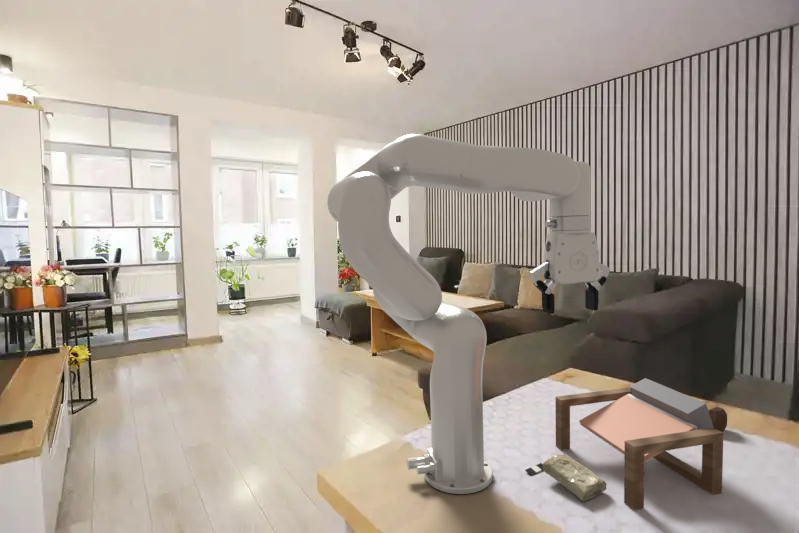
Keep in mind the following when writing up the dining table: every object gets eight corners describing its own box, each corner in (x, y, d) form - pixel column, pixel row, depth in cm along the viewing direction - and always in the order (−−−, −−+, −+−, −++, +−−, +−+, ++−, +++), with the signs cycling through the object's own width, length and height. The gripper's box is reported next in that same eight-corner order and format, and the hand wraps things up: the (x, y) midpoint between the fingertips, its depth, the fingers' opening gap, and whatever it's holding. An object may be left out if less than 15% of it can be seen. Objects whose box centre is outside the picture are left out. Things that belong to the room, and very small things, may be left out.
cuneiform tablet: (525, 470, 82) (580, 515, 72) (528, 449, 81) (584, 492, 71) (551, 459, 86) (606, 500, 76) (554, 438, 85) (611, 478, 75)
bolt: (655, 415, 109) (723, 438, 96) (643, 409, 107) (711, 431, 93) (662, 393, 110) (730, 412, 97) (650, 386, 108) (719, 405, 94)
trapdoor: (643, 475, 74) (634, 449, 73) (583, 433, 89) (575, 412, 89) (719, 430, 77) (711, 405, 76) (648, 397, 92) (641, 376, 91)
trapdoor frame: (633, 510, 70) (633, 446, 69) (555, 445, 92) (555, 396, 91) (721, 493, 74) (723, 432, 73) (627, 435, 95) (627, 387, 95)
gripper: (540, 226, 82) (541, 317, 84) (621, 224, 86) (620, 311, 87) (521, 227, 90) (521, 311, 91) (596, 225, 93) (596, 305, 95)
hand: (570, 311), depth 89 cm, fingers open, 9 cm apart
